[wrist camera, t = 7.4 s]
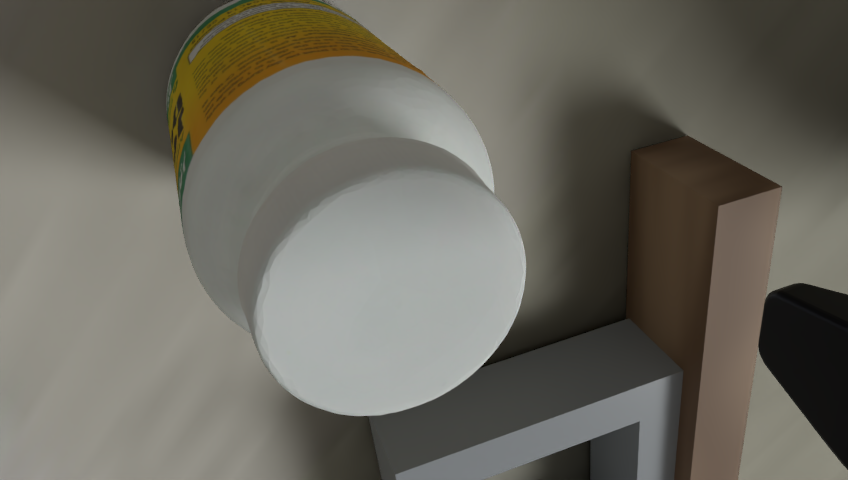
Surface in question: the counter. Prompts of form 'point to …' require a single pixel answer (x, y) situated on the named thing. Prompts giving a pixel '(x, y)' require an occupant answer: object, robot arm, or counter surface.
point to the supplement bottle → (339, 207)
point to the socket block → (546, 413)
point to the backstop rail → (702, 288)
